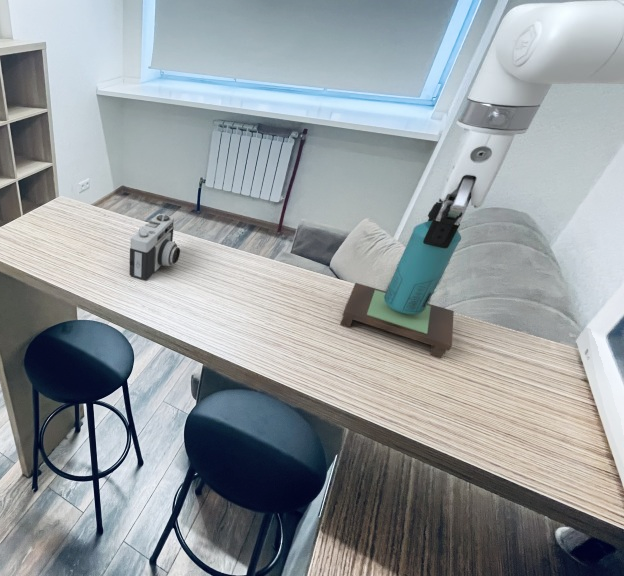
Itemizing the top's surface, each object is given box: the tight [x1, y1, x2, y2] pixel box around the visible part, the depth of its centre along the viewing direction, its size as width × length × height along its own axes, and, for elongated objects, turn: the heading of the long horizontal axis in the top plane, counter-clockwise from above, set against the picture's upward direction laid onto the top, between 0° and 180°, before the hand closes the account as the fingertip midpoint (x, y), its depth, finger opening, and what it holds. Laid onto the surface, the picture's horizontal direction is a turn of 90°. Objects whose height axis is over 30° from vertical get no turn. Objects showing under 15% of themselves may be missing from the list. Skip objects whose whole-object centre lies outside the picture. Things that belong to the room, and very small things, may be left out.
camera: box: [129, 213, 181, 281], centre depth 90 cm, size 14×8×10 cm, turn 149°
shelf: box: [340, 282, 455, 359], centre depth 74 cm, size 16×11×4 cm
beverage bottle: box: [384, 201, 462, 314], centre depth 67 cm, size 6×7×20 cm
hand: (436, 235), depth 64 cm, fingers closed on beverage bottle, 6 cm apart
